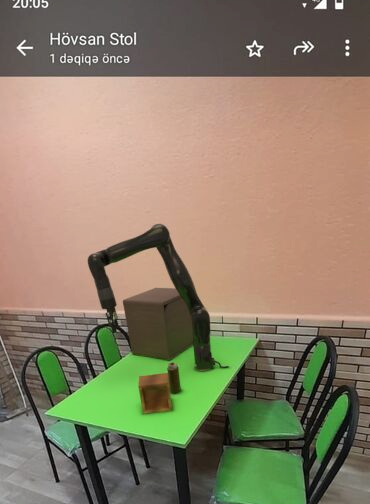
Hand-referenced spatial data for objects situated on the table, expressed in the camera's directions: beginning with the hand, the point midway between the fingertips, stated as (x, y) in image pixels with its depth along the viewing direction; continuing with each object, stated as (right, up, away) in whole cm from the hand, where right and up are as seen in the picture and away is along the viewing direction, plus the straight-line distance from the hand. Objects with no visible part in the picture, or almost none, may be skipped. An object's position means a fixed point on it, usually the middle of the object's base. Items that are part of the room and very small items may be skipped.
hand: (116, 330), depth 170 cm
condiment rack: (+23, -39, -16) cm, 48 cm away
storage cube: (+23, -1, +49) cm, 54 cm away
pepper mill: (+30, -31, -5) cm, 44 cm away
